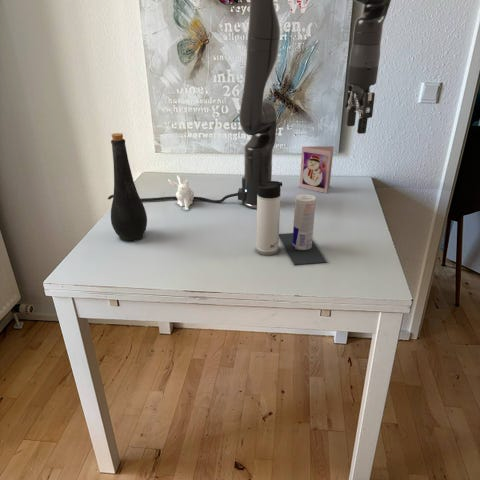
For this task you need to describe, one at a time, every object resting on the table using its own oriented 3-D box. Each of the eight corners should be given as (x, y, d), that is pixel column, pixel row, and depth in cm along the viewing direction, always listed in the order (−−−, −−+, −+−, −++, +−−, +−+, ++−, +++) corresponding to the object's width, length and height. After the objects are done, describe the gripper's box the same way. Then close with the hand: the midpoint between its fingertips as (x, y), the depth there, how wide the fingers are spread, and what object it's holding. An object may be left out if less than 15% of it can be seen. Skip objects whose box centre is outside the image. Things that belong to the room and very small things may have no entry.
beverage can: (314, 245, 143) (318, 195, 134) (308, 252, 139) (312, 202, 130) (296, 241, 145) (299, 192, 136) (289, 249, 141) (292, 199, 132)
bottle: (155, 232, 151) (143, 131, 135) (138, 246, 143) (124, 140, 126) (125, 227, 154) (110, 128, 137) (107, 241, 146) (89, 137, 129)
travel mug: (277, 256, 137) (280, 187, 126) (254, 254, 138) (255, 185, 127) (280, 247, 142) (283, 179, 131) (258, 245, 143) (259, 178, 132)
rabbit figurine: (188, 210, 166) (186, 183, 160) (166, 209, 167) (164, 181, 162) (197, 198, 176) (195, 171, 170) (176, 197, 177) (174, 170, 171)
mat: (278, 235, 149) (278, 234, 149) (306, 233, 151) (307, 232, 150) (294, 265, 133) (294, 264, 133) (326, 262, 134) (326, 261, 134)
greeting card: (298, 187, 185) (301, 147, 176) (307, 182, 190) (310, 142, 181) (325, 193, 179) (329, 152, 171) (334, 188, 184) (338, 147, 176)
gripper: (340, 60, 131) (334, 124, 140) (359, 68, 120) (351, 136, 129) (367, 60, 132) (359, 123, 141) (388, 67, 121) (378, 135, 130)
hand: (355, 129), depth 135 cm, fingers open, 8 cm apart
